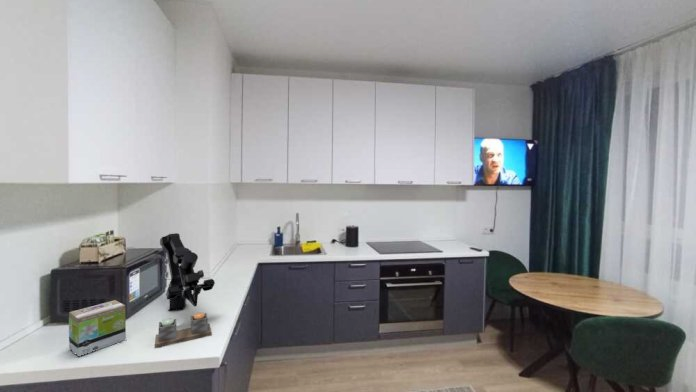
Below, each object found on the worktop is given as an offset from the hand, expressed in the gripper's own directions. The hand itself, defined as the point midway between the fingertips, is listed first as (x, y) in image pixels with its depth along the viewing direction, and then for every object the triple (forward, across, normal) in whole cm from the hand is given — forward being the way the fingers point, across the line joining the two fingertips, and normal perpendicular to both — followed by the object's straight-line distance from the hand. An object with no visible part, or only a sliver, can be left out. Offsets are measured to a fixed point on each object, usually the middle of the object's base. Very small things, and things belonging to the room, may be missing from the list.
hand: (195, 305), depth 129 cm
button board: (+10, -6, +5) cm, 12 cm away
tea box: (-1, -32, +16) cm, 36 cm away
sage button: (+4, -11, +2) cm, 12 cm away
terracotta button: (+6, 0, 0) cm, 6 cm away
